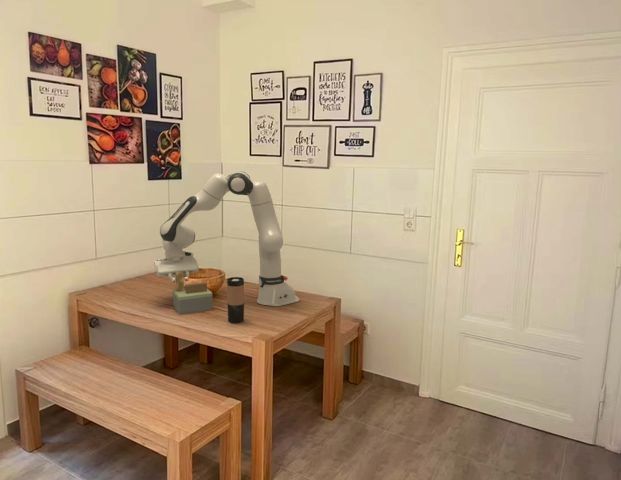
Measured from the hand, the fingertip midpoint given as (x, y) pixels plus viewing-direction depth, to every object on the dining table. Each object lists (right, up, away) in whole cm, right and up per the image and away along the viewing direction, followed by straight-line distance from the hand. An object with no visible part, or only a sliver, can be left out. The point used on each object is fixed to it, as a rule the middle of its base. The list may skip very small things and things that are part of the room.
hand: (180, 281), depth 230 cm
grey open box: (+6, -14, +2) cm, 16 cm away
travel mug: (+29, -17, -12) cm, 36 cm away
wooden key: (0, -13, +3) cm, 13 cm away
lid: (+6, -6, +1) cm, 9 cm away
